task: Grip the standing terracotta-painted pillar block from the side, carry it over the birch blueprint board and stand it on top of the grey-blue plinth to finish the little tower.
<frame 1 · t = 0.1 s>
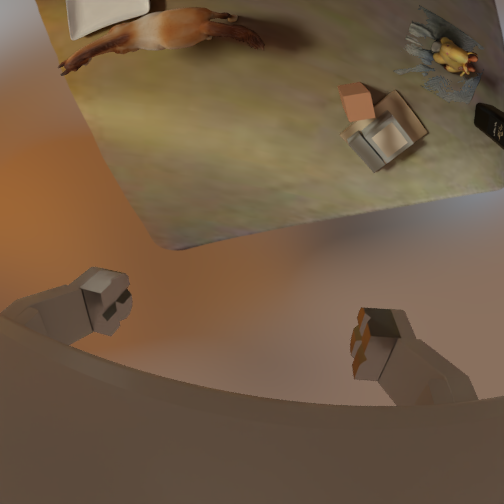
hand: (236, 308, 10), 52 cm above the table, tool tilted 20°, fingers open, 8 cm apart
wine bottle: (483, 115, 42), on the table
stuffed giraffe: (443, 59, 38), on the table
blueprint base: (384, 131, 51), on the table
pillar: (351, 94, 48), on the table
horse figurine: (189, 42, 46), on the table
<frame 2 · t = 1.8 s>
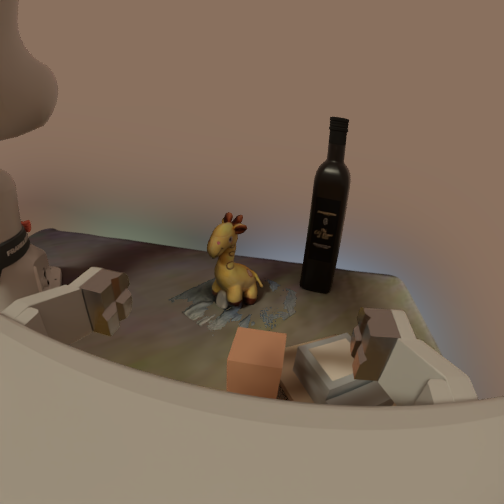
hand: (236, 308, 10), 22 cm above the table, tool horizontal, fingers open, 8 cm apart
wine bottle: (316, 285, 55), on the table
stuffed giraffe: (240, 304, 49), on the table
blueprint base: (329, 386, 32), on the table
pillar: (251, 410, 29), on the table
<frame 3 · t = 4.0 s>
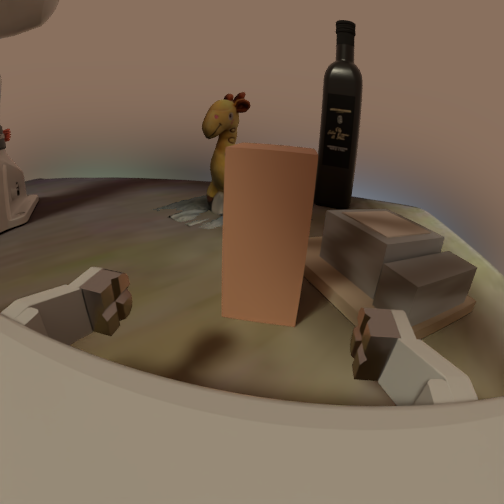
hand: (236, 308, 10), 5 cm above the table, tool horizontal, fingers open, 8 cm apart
wine bottle: (331, 204, 46), on the table
stuffed giraffe: (241, 214, 39), on the table
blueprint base: (373, 280, 23), on the table
pillar: (262, 302, 20), on the table
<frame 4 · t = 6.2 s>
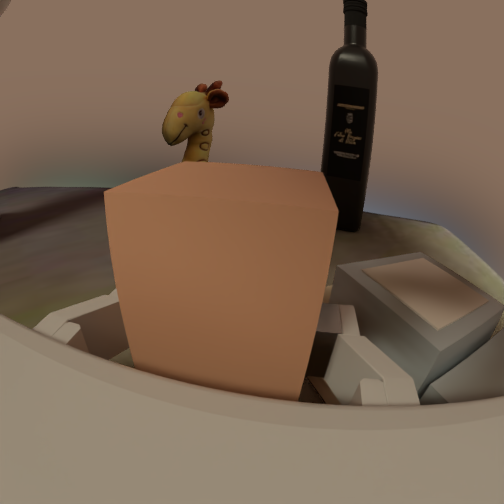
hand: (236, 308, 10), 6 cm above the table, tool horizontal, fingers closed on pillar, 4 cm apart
wine bottle: (337, 224, 37), on the table
stuffed giraffe: (221, 243, 30), on the table
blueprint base: (398, 361, 15), on the table
pillar: (229, 421, 11), on the table, touching gripper
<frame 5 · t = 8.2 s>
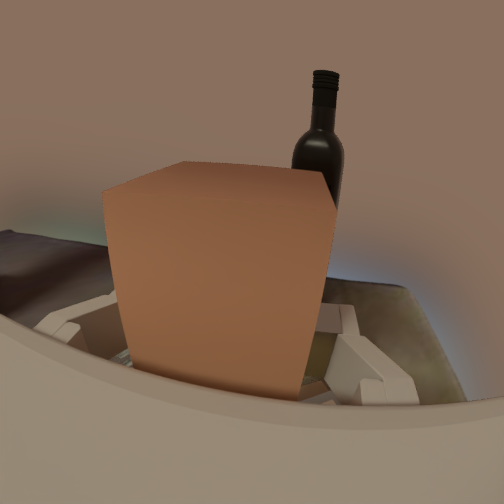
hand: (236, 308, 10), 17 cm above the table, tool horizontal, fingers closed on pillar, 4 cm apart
wine bottle: (299, 301, 41), on the table
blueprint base: (304, 465, 19), on the table
pillar: (228, 421, 11), point 12 cm above the table, touching gripper
when the fingers open (12 cm above the table, at t = 10.2 s): pillar drops 1 cm, resting on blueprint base.
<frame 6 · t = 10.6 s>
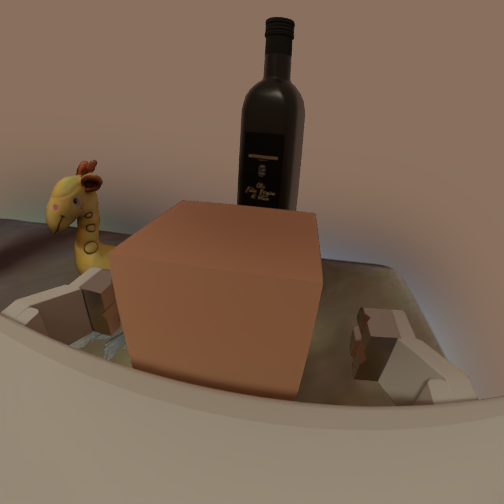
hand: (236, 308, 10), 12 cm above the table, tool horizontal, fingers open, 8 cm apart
wine bottle: (261, 279, 36), on the table
stuffed giraffe: (126, 311, 29), on the table
pillar: (227, 435, 12), point 5 cm above the table, touching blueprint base
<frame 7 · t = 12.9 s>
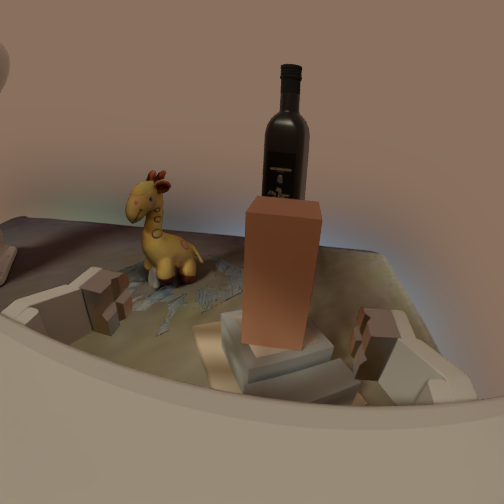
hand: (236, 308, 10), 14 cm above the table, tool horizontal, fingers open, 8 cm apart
wine bottle: (278, 260, 48), on the table
stuffed giraffe: (177, 284, 40), on the table
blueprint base: (269, 372, 25), on the table
pillar: (274, 329, 23), point 5 cm above the table, touching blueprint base
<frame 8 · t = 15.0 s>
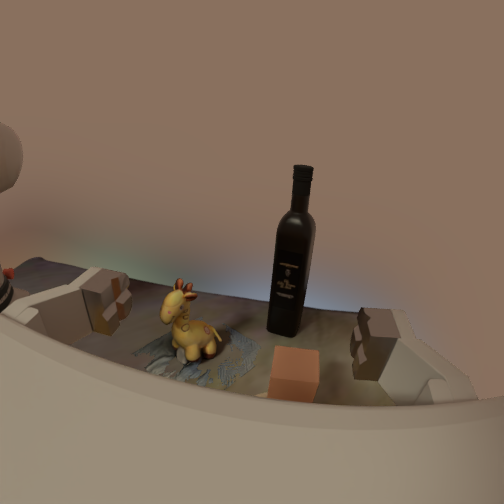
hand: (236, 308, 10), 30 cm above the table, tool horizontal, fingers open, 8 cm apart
wine bottle: (283, 328, 56), on the table
stuffed giraffe: (200, 357, 47), on the table
pillar: (282, 418, 31), point 5 cm above the table, touching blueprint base
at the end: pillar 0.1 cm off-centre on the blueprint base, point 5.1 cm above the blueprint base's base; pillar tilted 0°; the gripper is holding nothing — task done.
